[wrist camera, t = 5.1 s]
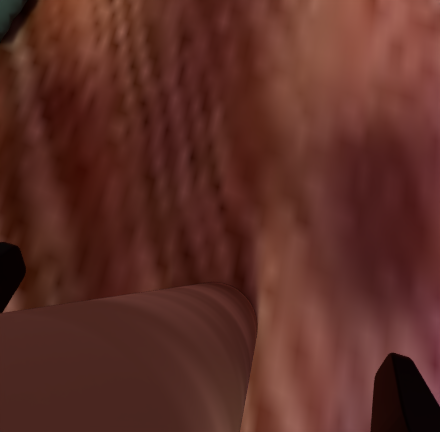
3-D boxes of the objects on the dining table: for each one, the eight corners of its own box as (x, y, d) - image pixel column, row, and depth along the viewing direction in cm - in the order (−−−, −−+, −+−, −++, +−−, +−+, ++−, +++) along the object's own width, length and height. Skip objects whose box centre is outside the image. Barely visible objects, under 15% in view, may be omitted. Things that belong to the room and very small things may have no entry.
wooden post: (266, 363, 15) (257, 795, 3) (179, 380, 15) (-197, 832, 3) (247, 274, 15) (165, 276, 3) (163, 291, 16) (-205, 354, 3)
